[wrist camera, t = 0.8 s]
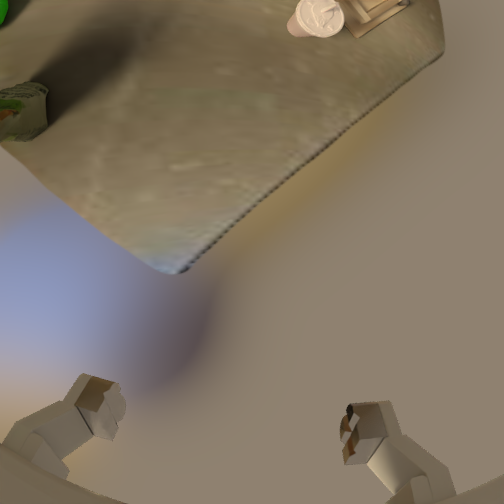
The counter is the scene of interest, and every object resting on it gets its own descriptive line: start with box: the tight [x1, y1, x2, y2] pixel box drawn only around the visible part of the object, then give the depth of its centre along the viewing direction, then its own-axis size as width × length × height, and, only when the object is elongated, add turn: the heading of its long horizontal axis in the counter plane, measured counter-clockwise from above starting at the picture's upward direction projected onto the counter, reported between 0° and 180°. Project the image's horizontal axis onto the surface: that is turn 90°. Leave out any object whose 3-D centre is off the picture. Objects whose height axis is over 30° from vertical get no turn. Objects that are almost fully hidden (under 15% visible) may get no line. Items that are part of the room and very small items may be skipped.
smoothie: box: [287, 0, 344, 37], centre depth 30 cm, size 6×6×14 cm
